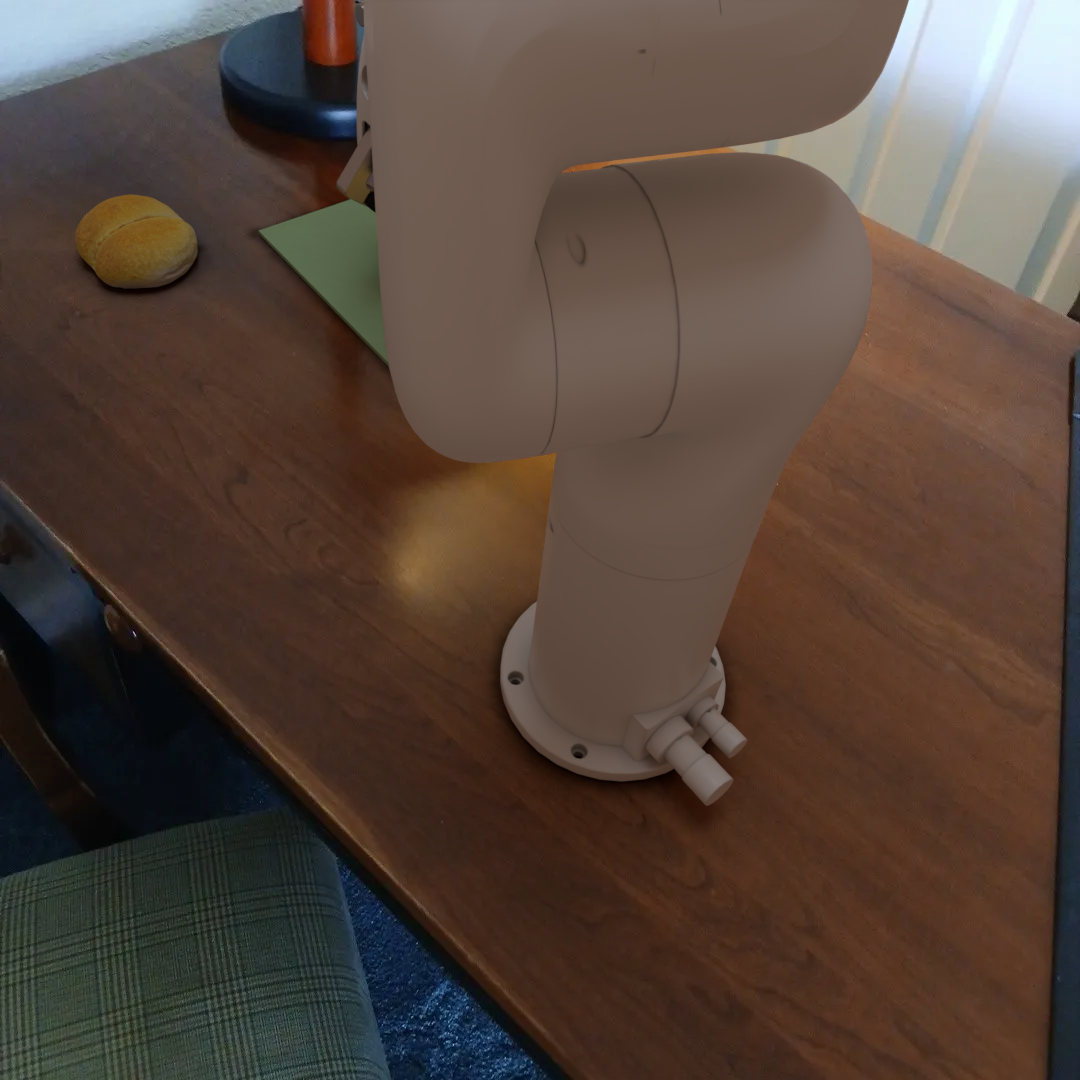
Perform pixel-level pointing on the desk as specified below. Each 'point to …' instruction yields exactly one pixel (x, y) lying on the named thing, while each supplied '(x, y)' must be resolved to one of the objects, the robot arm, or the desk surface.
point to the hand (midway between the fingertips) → (430, 245)
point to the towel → (338, 264)
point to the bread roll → (136, 242)
